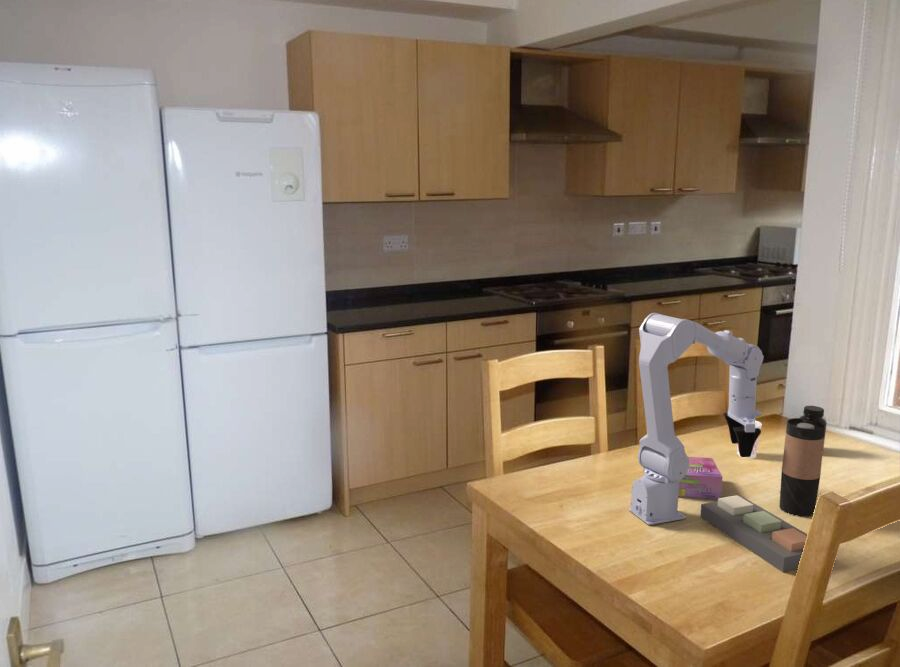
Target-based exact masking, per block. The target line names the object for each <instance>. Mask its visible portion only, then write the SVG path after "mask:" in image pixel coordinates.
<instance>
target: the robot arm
mask: <svg viewBox="0 0 900 667" xmlns="http://www.w3.org/2000/svg"><path fill="white" fill-rule="evenodd" d="M638 331H639V340H640V350H639V351H640V352H639V356H638V365H639V366H638V367H639V375H640V381H641V383H640V384H641V391H642V399H643V406H644V416H645V422H646V424H645V425H646V431H647V433H646V434H644V436H643V437H642V438H640V440H638V441H639V450H638V453H637V454H638V455H637V460H638V463H639V465H640V466H641V467H642V472H643V473H644V475H642V476H641V477H639V478H636V479H634V481H633V482H632V485H631V502H630V507H629V508H628V511H630V512H631V513H633V515H635V516H636V517H637V518H639V519H640V520H641V521H642V522H644V523H645V524H647V525H649V526H652V525H658V524H662V523H669V522H673V521H680V520H685V519H686V518H687V516H686V515H685V514H684V513H682V512H680V511H679V510H678V508H679V497H678V495H679V480H682V478H683V477H684V476H685V475H686V474H687V472H688V469H689V458H688V457H689V456H688V455H687V454H686V451H685V449H686V448H685V445H684V444H683V443H682V441H681V440H680V438H678V436H677V435H676V433H675V427H674V426H675V425H674V416H673V407H672V398H671V389H670V381H669V371H668V369H669V368H668V366H669V365H670V364H673V363H675V362H676V361H677V360H678V359H679V358H680V357H681V356H682V355H683V354H684V353H685V352H686V351H687V350H689V348H690V347H692V345H695V344H696V343H698V344H700V345H703V346H706V347H707V351H708V353H709V354H710V355H712V356H713V357H716V358H717V359H720V360H721V361H724V363H725V365H726V366H728V365H729V375H728V376H729V379H728V380H729V382H728V383H729V386H728V388H729V389H728V410H727V412H723V417H724V419H725V420H726V423H727V424H726V425H727V427H728V432H729V437H730V441H731V443H732V444H734V445H735V444H738V447H739V454H740V456H741V457H740V456H739V457H740V458H743V457H750V456H751V453H752V450H753V447H754V444H755V441H756V439H757V438H758V436H759V437H760V435H761V434H762V430H761V429H759V428H755V420H756V419H757V417H761V416H762V412H761V411H760V410H756V409H757V408H756V405H757V403H756V402H757V383H758V382H757V379H758V378H757V377H759V374H760V369H761V366H762V364H763V361H764V357H765V356H764V355H763V351H762V349H760V347H759V345H755V344H752V343H747V342H746V339H745V338H742V337H736V336H734V335H733V334H734V332H732V331H731V330H726V329H724V330H723V331H722V330H720V331H715V332H714V331H712V330H710V329H708V328H707V327H705V326H704V325H701V324H700V323H698V322H696V321H693V320H690V319H687V318H684V319H683V318H678V317H673V316H669V315H665V314H661V313H659V312H651V313H650V314H648V315H647V316H646V317H645V318H644V320H643V322H642V323H641V325H640V326H639V328H638Z"/></svg>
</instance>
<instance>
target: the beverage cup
mask: <svg viewBox="0 0 900 667" xmlns="http://www.w3.org/2000/svg"><path fill="white" fill-rule="evenodd" d="M762 426H763V424H762V422H761V421H758V420H756V419H755V428H759V429H760V430H761V429H762ZM759 439H760V435H759V436H758V438H757V439H756V441H755V444H754V447H753V450H752V453H751V456H750V457H744V458H745V459H754V458H756V457H757V453H758V452H757V451H758V445H759ZM736 446H737V448H736V453H737V454H738V455H739V457H740V454H739V447H738V444H737V445H736ZM738 455H737V456H738Z"/></svg>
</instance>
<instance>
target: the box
mask: <svg viewBox="0 0 900 667" xmlns="http://www.w3.org/2000/svg"><path fill="white" fill-rule="evenodd" d="M688 458H689V469H688V472H687V474H686V475H685V476H684V477H683V478H682V480H679V495H678V498H691V499H693V498H694V499H709V500H710V499H712V500H718V498H722V487H723V475H722V473H721V472H720V470H719V468H718V466H717V464H716V462H715V460H714V458H713V457H705V456H704V457H703V456H701V457H700V456H688Z"/></svg>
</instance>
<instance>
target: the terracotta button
mask: <svg viewBox="0 0 900 667" xmlns="http://www.w3.org/2000/svg"><path fill="white" fill-rule="evenodd" d="M806 538H807V536H806V535H804V534H802V533H801V532H799V531H797V530H796V529H794V528H790V529H785V530H780V531H775V532H772V540H773V541H774V542H776V543H777V544H779V545H781V546H782V547H784V548H785V549H787V550H788V551H790V552H794V551H799V550H803V548H804V545H805V541H806Z"/></svg>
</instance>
